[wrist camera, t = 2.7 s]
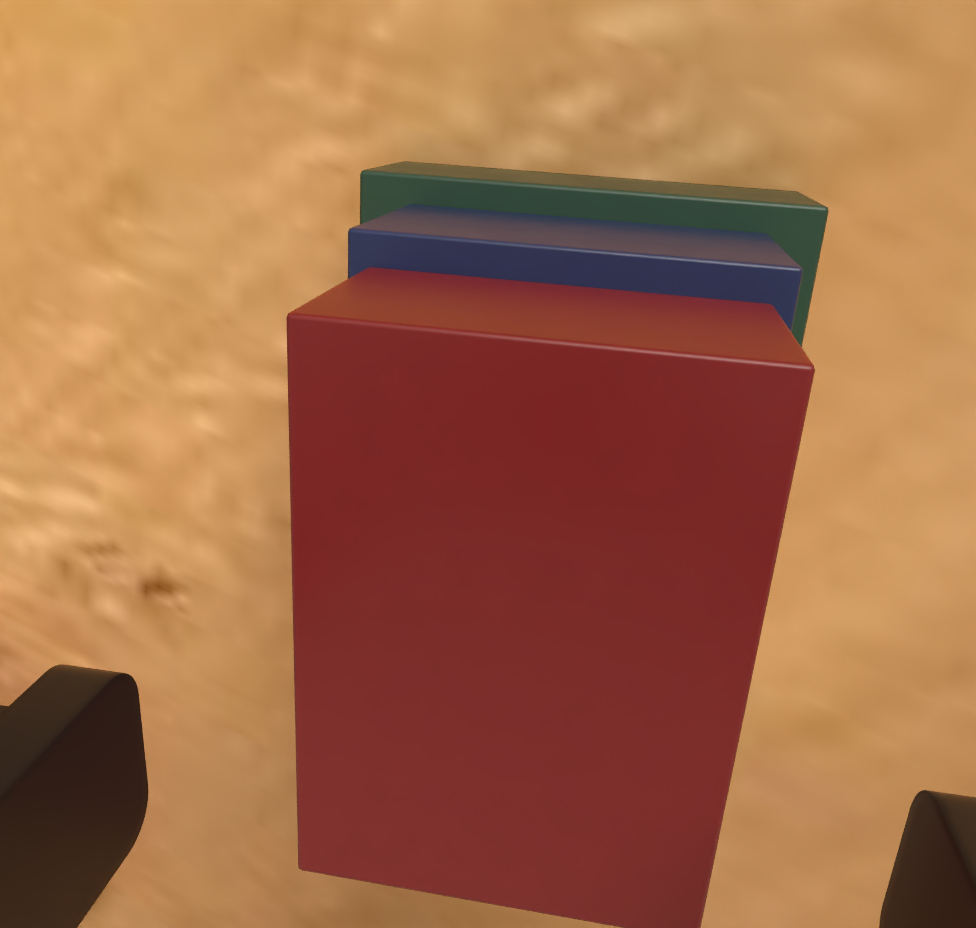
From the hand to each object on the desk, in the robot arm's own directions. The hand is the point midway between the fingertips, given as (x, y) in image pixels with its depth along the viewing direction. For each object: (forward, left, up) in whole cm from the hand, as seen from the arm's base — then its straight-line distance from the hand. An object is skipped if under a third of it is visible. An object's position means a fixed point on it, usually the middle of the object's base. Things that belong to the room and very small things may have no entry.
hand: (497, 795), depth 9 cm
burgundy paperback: (0, 0, -5) cm, 5 cm away
